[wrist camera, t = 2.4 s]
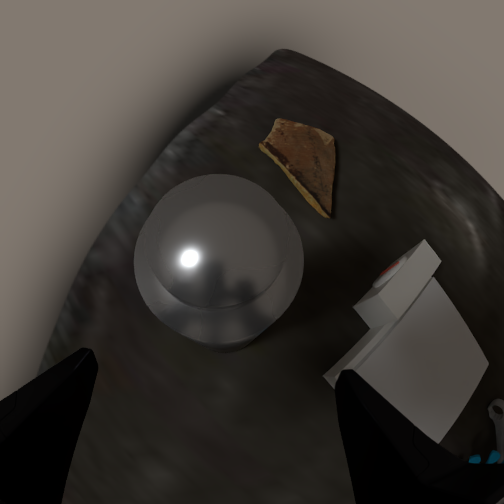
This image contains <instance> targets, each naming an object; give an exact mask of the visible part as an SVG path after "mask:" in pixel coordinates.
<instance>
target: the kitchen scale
mask: <svg viewBox="0 0 504 504" xmlns="http://www.w3.org/2000/svg"><path fill="white" fill-rule="evenodd" d="M440 263H441V260H440V259H439V257H438V256H437V255H436V253H435V252H434V251H433V249H432V248H431V247H430V246H429V244H428V243H427V242H426V241H425V239H424V240H423V241H421V242H420V243H419V244H417V245H416V246H415V247H413V248H412V249H411V250H409V251H408V252H407V253H405V254H404V255H402V256H401V257H400V258H398V259H397V260H396V261H395V262H393V263H392V264H391V265H390V266H389V267H388V268H387V269H386V270H384V271H383V272H381V273H380V276H379V277H378V278H377V279H376V280H375V281H374V282H373V284H372V285H373V287H372V288H371V289H370V290H369V291H368V292H367V293H366V294H365V295H364V296H363V297H362V298H361V299H360V300H359V301H358V302H357V303H356V304H355V305H354V306H353V308H354V309H355V310H356V312H357V313H358V314H359V315H360V316H361V318H362V319H363V320H364V321H365V323H366V324H367V325H368V326H369V328H370V330H369V331H368V332H367V333H366V334H365V335H364V336H363V337H362V338H361V339H360V340H359V341H358V342H357V343H356V344H355V345H354V346H353V347H352V348H351V349H350V350H349V351H348V352H347V353H346V354H345V355H344V356H343V357H342V358H341V359H340V360H339V361H338V362H337V363H336V364H335V365H334V366H333V367H332V368H331V369H330V370H328V371H327V372H326V373H325V374H324V375H323V377H324V378H325V379H326V380H327V381H328V383H329V384H330V385H331V386H332V387H333V388H334V390H335V383H336V381H337V379H338V377H339V374H340V372H341V371H342V370H344V369H353V370H354V371H355V372H357V373H358V374H359V375H360V376H361V377H362V378H363V379H364V380H365V381H366V382H368V383H369V384H370V385H371V386H372V387H373V388H374V389H375V390H376V391H377V392H379V393H380V394H381V395H382V396H383V397H384V398H385V399H386V400H387V401H389V402H390V403H391V404H392V405H393V406H394V407H395V408H396V409H397V410H399V411H400V412H401V413H402V414H403V415H404V416H405V417H406V418H408V419H409V420H410V421H411V422H412V423H413V424H414V426H417V427H418V428H419V429H420V430H421V431H422V432H424V433H425V434H426V435H427V436H429V437H430V438H431V439H432V440H434V441H435V442H436V443H438V444H439V442H440V441H441V440H442V439H443V437H444V436H445V435H446V433H447V432H448V430H449V429H450V428H451V426H452V425H453V423H454V422H455V421H456V419H457V418H458V416H459V415H460V413H461V412H462V410H463V409H464V407H465V405H466V404H467V402H468V401H469V399H470V397H471V396H472V394H473V392H474V391H475V389H476V387H477V385H478V384H479V382H480V380H481V378H482V376H483V374H484V372H485V371H486V369H487V367H488V365H489V363H488V361H487V359H486V357H485V355H484V354H483V352H482V350H481V348H480V347H479V345H478V343H477V341H476V340H475V338H474V336H473V335H472V333H471V331H470V330H469V328H468V326H467V325H466V323H465V322H464V320H463V318H462V317H461V315H460V314H459V312H458V311H457V309H456V308H455V306H454V305H453V303H452V302H451V300H450V299H449V297H448V296H447V295H446V293H445V292H444V290H443V289H442V287H441V286H440V285H439V283H438V282H437V281H436V279H435V278H434V277H431V276H432V275H433V273H434V272H435V270H436V269H437V267H438V266H439V264H440Z"/></svg>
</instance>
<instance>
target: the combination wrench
mask: <svg viewBox="0 0 504 504" xmlns="http://www.w3.org/2000/svg"><path fill="white" fill-rule="evenodd" d="M493 405H497V406H499V407H500V408H501V409H502V410H503V414H500V415H499V414H497V413H495V412H494V410H493V408H492V406H493ZM488 411H489V417H490V418H491V419H493V421H494V424H495V429H496V442H497V452H499V453H500V455H501V456H500V458H499V460H498V461H497V464H498V463H502V462H503V460H504V400H502V399H495V400H493V401H492V402H491V404H490V405H489V406H488Z"/></svg>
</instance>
